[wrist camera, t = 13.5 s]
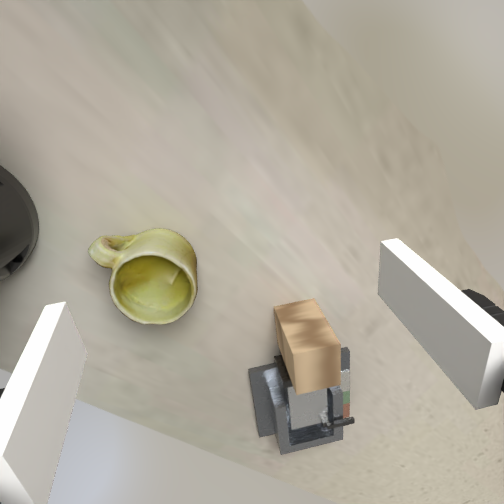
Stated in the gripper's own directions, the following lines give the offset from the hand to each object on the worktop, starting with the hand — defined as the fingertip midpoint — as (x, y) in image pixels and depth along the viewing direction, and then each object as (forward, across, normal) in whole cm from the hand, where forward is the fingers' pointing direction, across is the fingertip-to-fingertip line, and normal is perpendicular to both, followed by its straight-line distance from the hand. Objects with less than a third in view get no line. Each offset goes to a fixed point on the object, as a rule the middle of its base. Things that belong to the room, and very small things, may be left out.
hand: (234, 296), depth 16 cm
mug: (+31, -8, -12) cm, 34 cm away
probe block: (+31, +10, -28) cm, 43 cm away
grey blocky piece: (+29, +11, -39) cm, 50 cm away
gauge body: (+31, +10, -42) cm, 53 cm away
